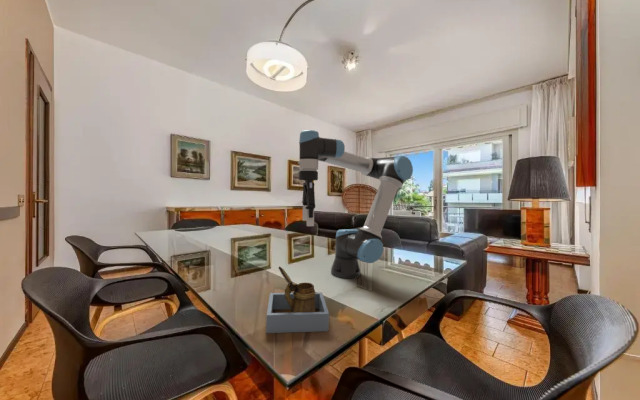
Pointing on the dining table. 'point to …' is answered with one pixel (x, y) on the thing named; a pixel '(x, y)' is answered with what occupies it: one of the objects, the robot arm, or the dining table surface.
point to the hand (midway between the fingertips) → (307, 223)
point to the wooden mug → (299, 295)
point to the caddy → (296, 316)
